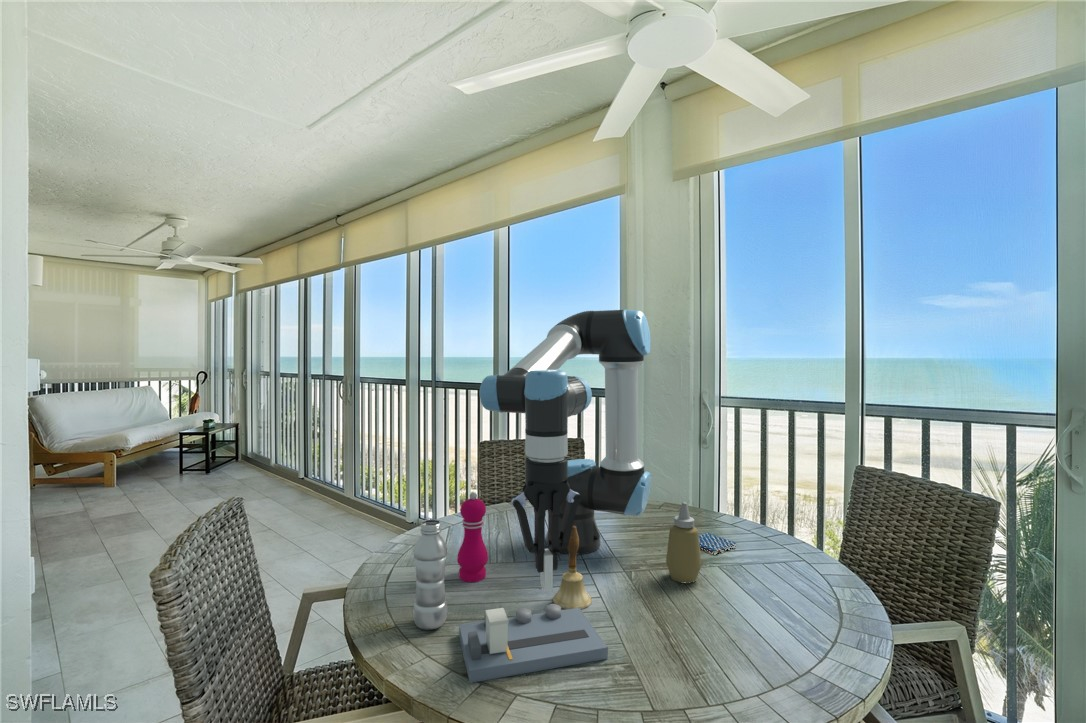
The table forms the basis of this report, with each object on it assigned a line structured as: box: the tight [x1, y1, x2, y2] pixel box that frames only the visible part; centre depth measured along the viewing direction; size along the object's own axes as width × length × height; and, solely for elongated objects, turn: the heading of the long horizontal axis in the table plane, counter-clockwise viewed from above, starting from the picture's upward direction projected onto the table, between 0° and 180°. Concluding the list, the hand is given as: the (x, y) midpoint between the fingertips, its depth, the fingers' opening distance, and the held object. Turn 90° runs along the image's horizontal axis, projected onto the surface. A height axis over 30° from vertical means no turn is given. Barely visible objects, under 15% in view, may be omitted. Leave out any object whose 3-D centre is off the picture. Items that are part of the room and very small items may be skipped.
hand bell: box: [552, 526, 593, 610], centre depth 106 cm, size 8×8×16 cm
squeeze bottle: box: [665, 501, 702, 584], centre depth 118 cm, size 8×8×18 cm
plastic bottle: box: [412, 519, 448, 631], centre depth 96 cm, size 6×7×20 cm
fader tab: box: [484, 607, 509, 654], centre depth 86 cm, size 3×4×5 cm
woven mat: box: [699, 532, 738, 555], centre depth 138 cm, size 10×11×2 cm
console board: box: [458, 603, 609, 684], centre depth 89 cm, size 24×14×4 cm, turn 106°
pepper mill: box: [456, 491, 489, 583], centre depth 117 cm, size 7×7×20 cm
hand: (546, 587), depth 89 cm, fingers closed
